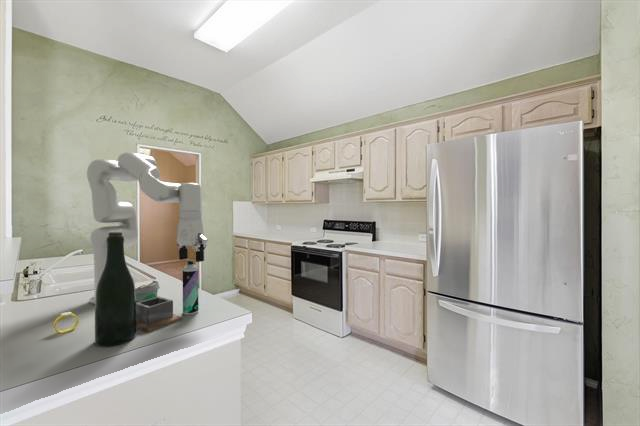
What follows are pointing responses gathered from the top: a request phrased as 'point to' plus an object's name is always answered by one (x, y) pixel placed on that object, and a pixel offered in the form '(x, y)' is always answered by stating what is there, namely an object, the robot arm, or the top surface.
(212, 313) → the top surface
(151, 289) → the food container
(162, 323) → the can holder
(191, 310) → the spray can
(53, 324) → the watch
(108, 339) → the beer bottle
